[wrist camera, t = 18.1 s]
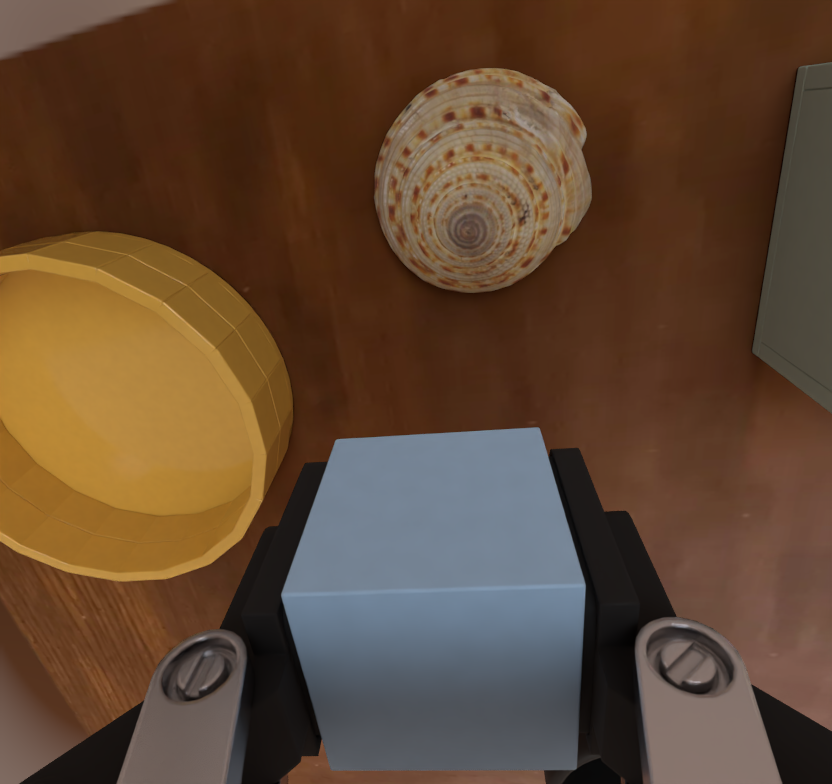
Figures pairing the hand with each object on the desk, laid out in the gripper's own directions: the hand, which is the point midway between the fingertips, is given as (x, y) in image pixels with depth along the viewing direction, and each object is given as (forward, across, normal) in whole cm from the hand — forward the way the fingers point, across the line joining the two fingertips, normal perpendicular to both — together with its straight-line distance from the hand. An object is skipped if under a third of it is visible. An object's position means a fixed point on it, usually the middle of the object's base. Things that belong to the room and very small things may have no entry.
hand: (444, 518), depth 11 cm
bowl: (+15, +16, +4) cm, 23 cm away
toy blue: (0, 0, 0) cm, 0 cm away
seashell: (+16, -2, -5) cm, 16 cm away
